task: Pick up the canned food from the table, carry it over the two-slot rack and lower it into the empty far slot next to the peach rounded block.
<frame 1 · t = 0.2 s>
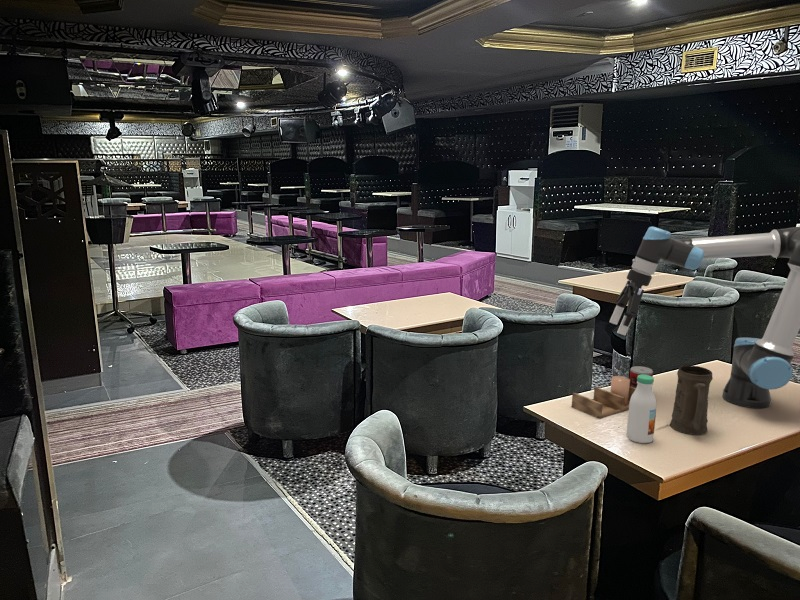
hand: (616, 328, 206), 27 cm above the table, tool tilted 15°, fingers open, 13 cm apart
beer stein: (691, 431, 188), on the table
peach rounded block: (618, 403, 208), point 1 cm above the table, touching rack
canned food: (638, 398, 215), on the table
rack: (607, 408, 205), on the table
milk bottle: (639, 439, 182), on the table
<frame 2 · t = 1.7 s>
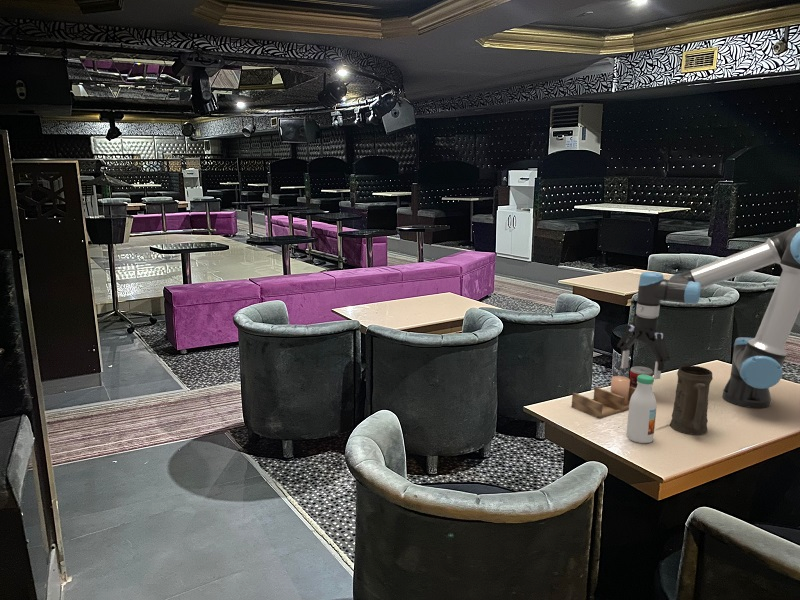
hand: (640, 373, 213), 10 cm above the table, tool pointing down, fingers open, 13 cm apart
nothing on the table moved.
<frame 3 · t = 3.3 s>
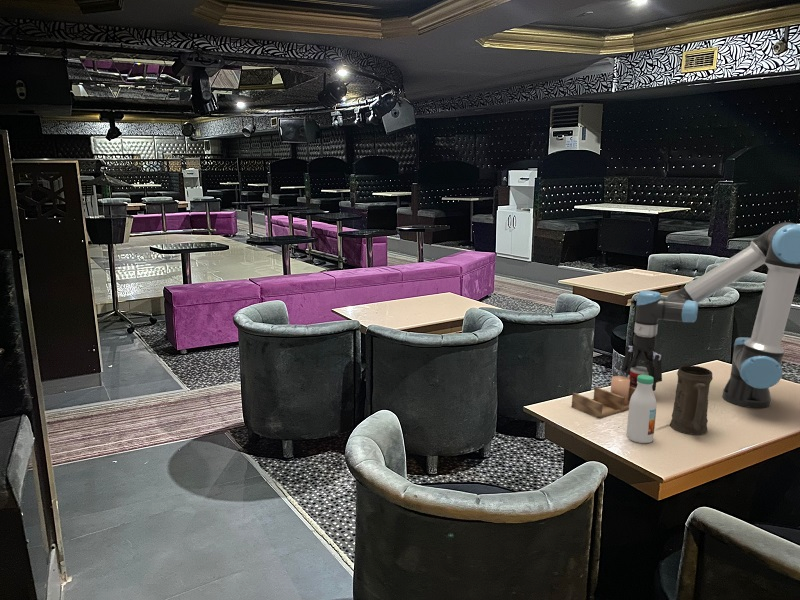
hand: (639, 395, 215), 1 cm above the table, tool pointing down, fingers closed on canned food, 8 cm apart
canned food: (638, 398, 215), on the table, touching gripper
everything else where it was.
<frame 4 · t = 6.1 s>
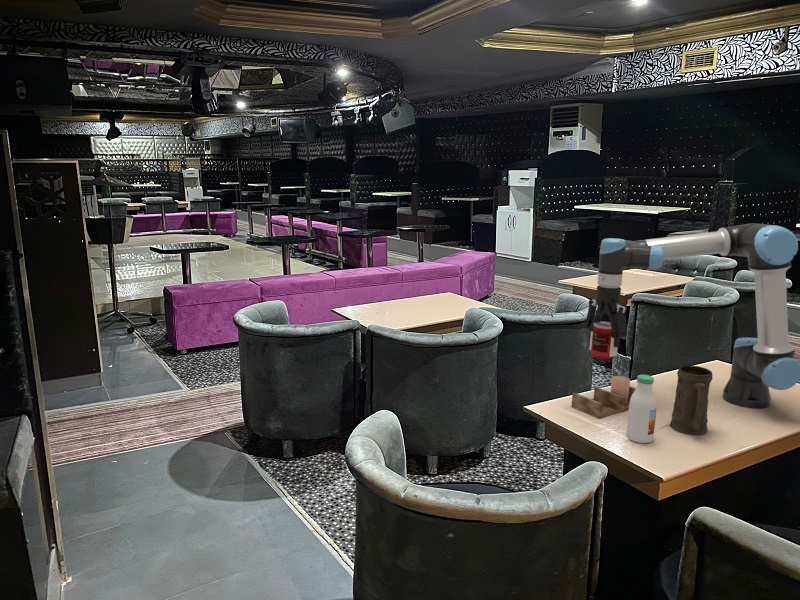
hand: (602, 352, 199), 21 cm above the table, tool pointing down, fingers closed on canned food, 8 cm apart
canned food: (602, 356, 199), point 20 cm above the table, touching gripper
everything else where it was.
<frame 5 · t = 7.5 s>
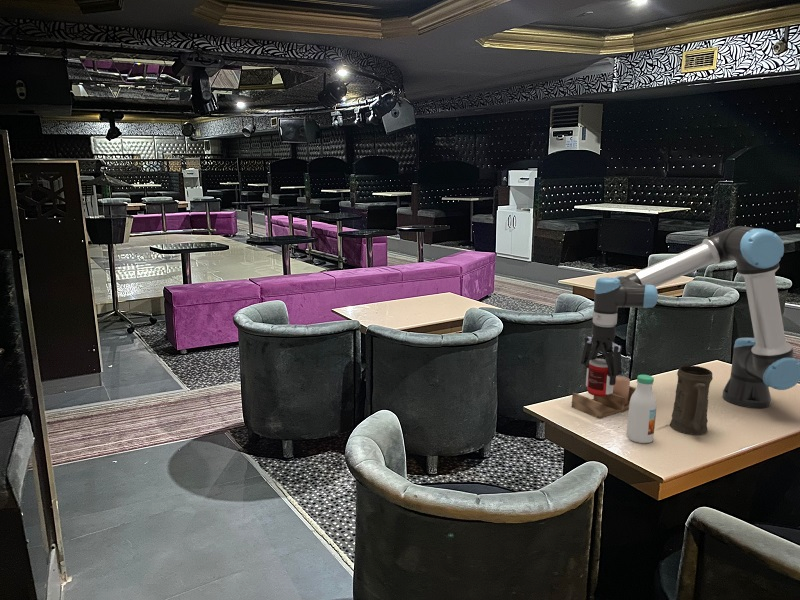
hand: (599, 389, 201), 8 cm above the table, tool pointing down, fingers closed on canned food, 8 cm apart
canned food: (598, 393, 201), point 7 cm above the table, touching gripper
everything else where it was.
when the fingers open (4 cm above the table, at t = 8.8 s): canned food drops 1 cm, resting on rack.
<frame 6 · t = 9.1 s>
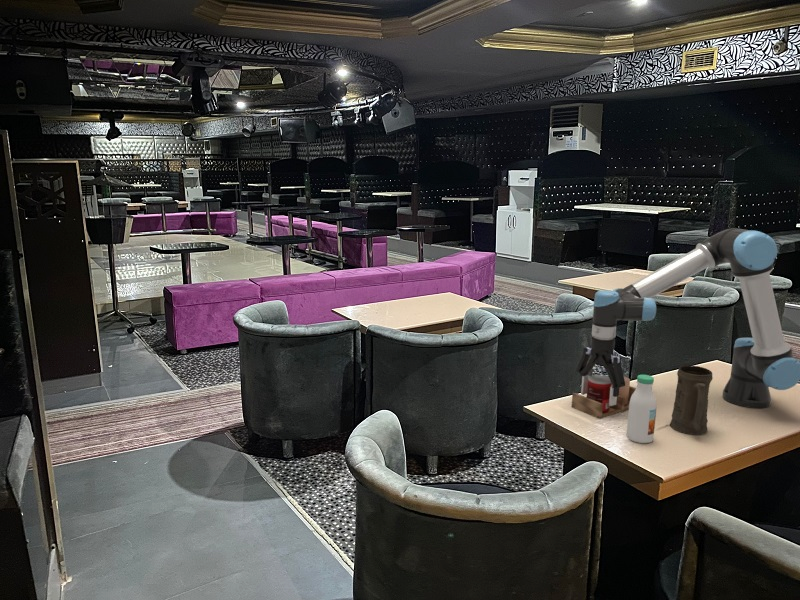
hand: (598, 399, 201), 5 cm above the table, tool pointing down, fingers open, 11 cm apart
canned food: (597, 409, 202), point 1 cm above the table, touching rack
everything else where it was.
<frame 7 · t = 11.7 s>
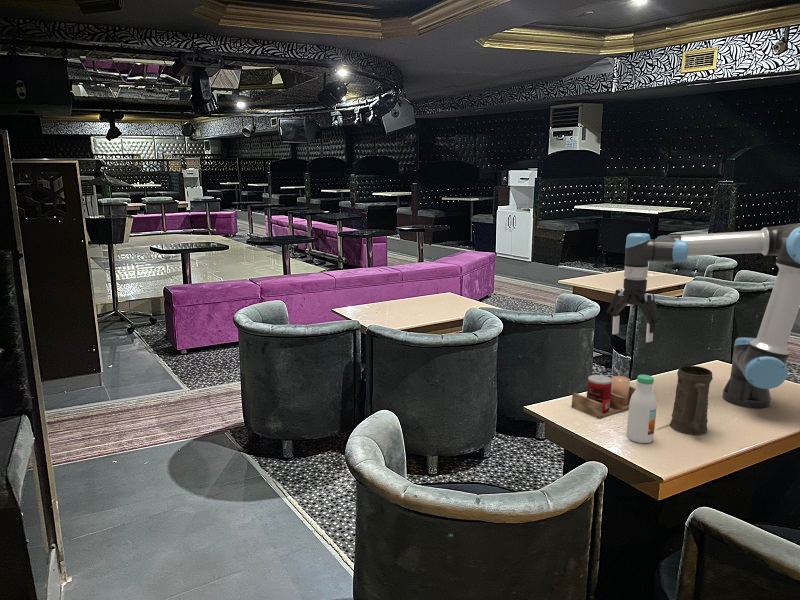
hand: (631, 337, 209), 23 cm above the table, tool pointing down, fingers open, 13 cm apart
nothing on the table moved.
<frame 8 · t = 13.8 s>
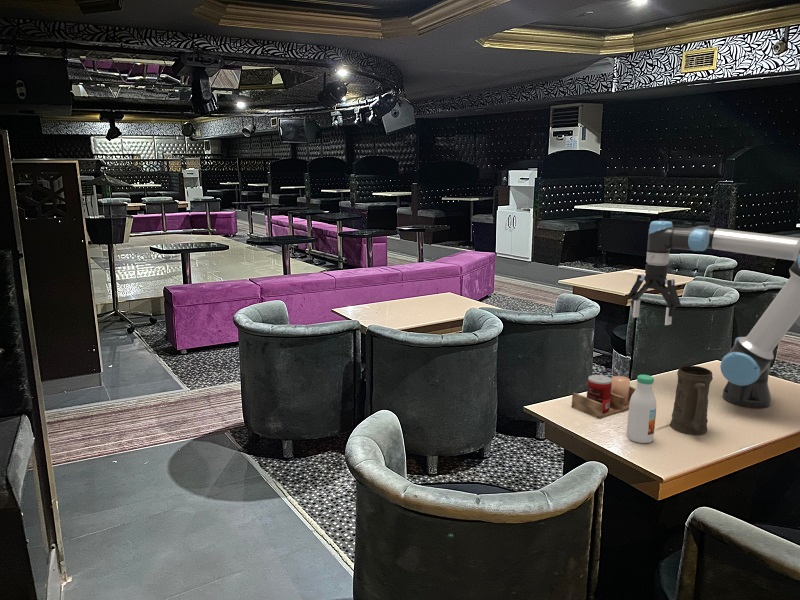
hand: (651, 320, 219), 27 cm above the table, tool pointing down, fingers open, 13 cm apart
nothing on the table moved.
at the end: canned food inside the target area on the rack (0.0 cm from its centre), point 0.8 cm above the rack's base; canned food tilted 0°; the gripper is holding nothing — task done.
